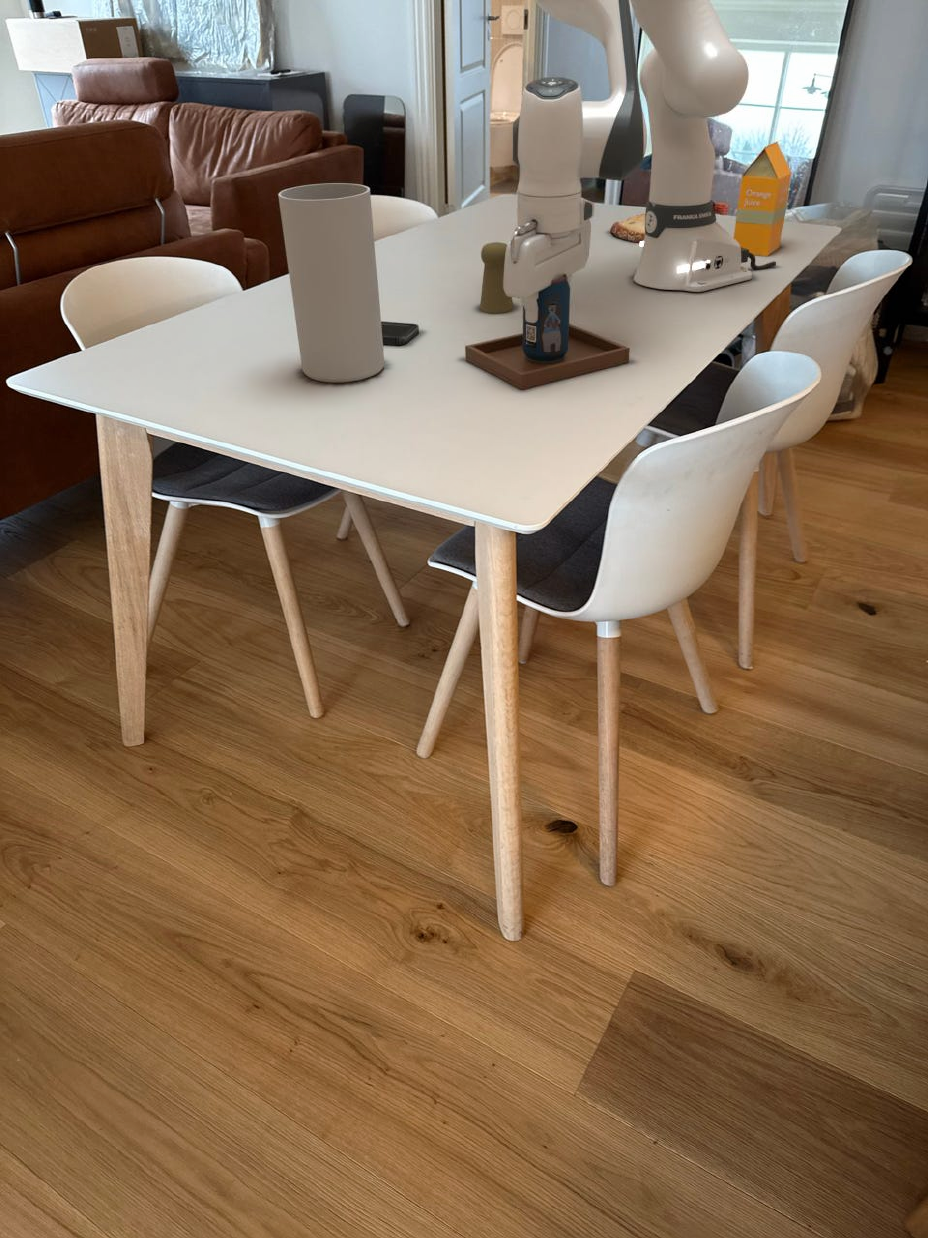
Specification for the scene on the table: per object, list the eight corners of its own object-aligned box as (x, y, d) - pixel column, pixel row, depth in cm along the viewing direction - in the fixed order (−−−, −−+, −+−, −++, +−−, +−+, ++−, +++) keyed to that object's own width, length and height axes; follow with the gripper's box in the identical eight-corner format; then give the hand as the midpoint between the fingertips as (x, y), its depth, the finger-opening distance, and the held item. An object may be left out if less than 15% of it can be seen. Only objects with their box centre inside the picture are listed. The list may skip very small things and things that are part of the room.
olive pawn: (510, 313, 159) (510, 247, 153) (476, 312, 160) (475, 247, 154) (515, 303, 164) (515, 239, 158) (483, 302, 165) (481, 238, 159)
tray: (567, 336, 148) (568, 322, 147) (628, 362, 137) (629, 347, 136) (465, 359, 140) (464, 345, 139) (521, 389, 129) (521, 374, 128)
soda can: (543, 346, 142) (544, 266, 135) (577, 355, 138) (580, 274, 131) (513, 357, 138) (513, 276, 131) (547, 367, 134) (549, 284, 127)
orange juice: (780, 246, 193) (797, 141, 181) (767, 256, 187) (784, 147, 175) (744, 243, 196) (758, 139, 185) (730, 252, 190) (744, 145, 179)
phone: (403, 338, 145) (319, 331, 150) (403, 345, 146) (320, 338, 150) (420, 324, 152) (340, 317, 156) (421, 330, 152) (340, 324, 156)
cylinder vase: (351, 389, 131) (331, 203, 117) (285, 375, 136) (259, 196, 122) (400, 363, 139) (388, 186, 125) (337, 351, 145) (318, 180, 131)
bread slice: (700, 244, 196) (702, 226, 194) (617, 247, 197) (618, 228, 194) (685, 226, 211) (687, 209, 209) (607, 229, 211) (608, 211, 209)
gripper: (533, 231, 118) (531, 336, 126) (599, 202, 132) (594, 298, 140) (491, 226, 121) (492, 330, 129) (561, 198, 135) (558, 293, 143)
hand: (546, 313), depth 134 cm, fingers closed on soda can, 7 cm apart
